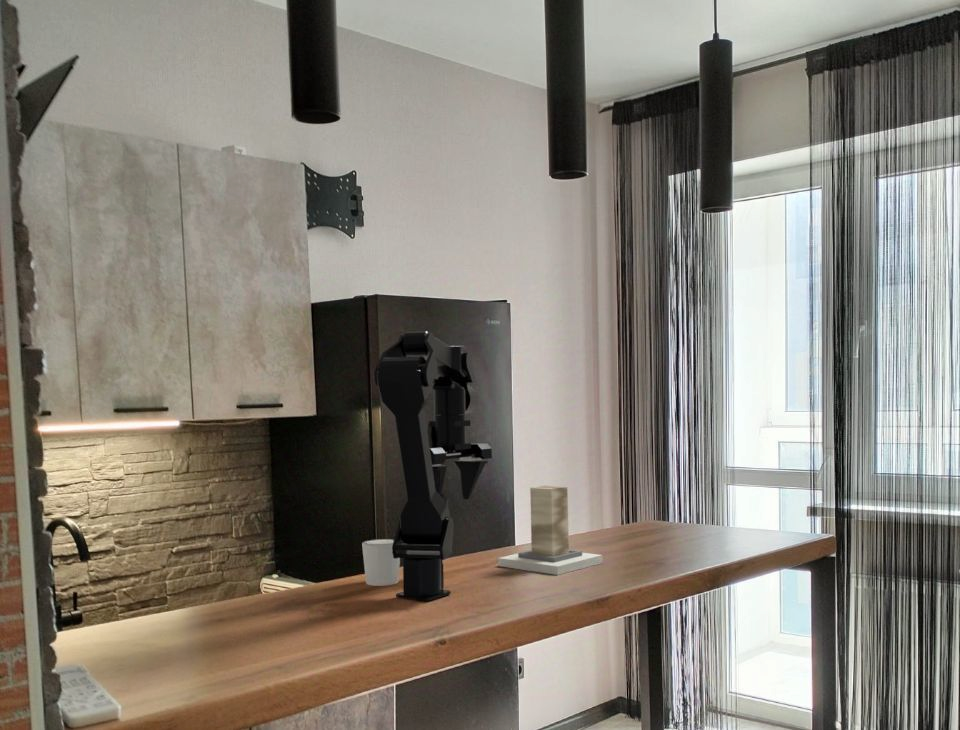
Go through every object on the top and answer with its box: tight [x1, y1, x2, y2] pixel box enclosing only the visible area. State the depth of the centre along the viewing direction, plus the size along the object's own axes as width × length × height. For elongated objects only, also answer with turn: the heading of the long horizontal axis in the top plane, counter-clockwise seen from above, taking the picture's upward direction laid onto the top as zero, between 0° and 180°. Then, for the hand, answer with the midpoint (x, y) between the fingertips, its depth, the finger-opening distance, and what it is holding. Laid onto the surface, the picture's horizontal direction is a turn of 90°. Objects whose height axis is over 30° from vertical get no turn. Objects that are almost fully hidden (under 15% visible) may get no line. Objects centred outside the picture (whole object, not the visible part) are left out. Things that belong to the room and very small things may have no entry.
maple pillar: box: [529, 485, 570, 557], centre depth 160 cm, size 5×5×13 cm
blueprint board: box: [497, 549, 603, 576], centre depth 160 cm, size 14×14×2 cm
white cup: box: [361, 538, 401, 587], centre depth 147 cm, size 7×7×7 cm
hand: (451, 501), depth 152 cm, fingers open, 9 cm apart
